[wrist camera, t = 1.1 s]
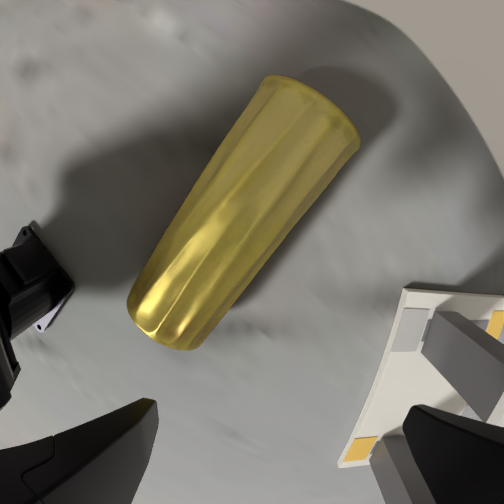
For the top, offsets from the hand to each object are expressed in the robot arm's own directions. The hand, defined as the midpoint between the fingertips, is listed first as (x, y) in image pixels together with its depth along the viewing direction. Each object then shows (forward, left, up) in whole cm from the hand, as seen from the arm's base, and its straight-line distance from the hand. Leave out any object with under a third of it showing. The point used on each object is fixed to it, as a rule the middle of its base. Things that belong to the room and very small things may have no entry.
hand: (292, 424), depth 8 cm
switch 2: (+7, -12, -11) cm, 18 cm away
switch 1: (-3, -20, -11) cm, 23 cm away
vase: (+9, +6, -9) cm, 14 cm away
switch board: (+4, -18, -12) cm, 22 cm away
